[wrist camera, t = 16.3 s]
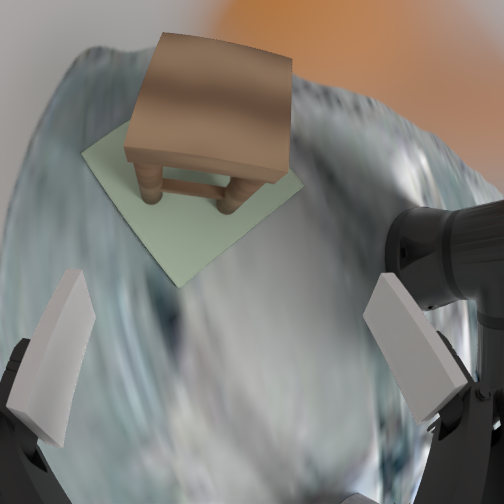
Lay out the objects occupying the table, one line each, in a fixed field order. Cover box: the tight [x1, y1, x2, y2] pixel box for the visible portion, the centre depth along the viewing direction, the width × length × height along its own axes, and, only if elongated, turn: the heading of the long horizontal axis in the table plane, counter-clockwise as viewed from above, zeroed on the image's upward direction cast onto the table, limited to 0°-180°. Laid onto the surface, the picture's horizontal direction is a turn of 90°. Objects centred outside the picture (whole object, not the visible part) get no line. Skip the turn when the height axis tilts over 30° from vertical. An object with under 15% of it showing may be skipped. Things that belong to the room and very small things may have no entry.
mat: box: [81, 119, 304, 288], centre depth 30 cm, size 18×18×1 cm
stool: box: [123, 32, 292, 215], centre depth 23 cm, size 10×10×14 cm
